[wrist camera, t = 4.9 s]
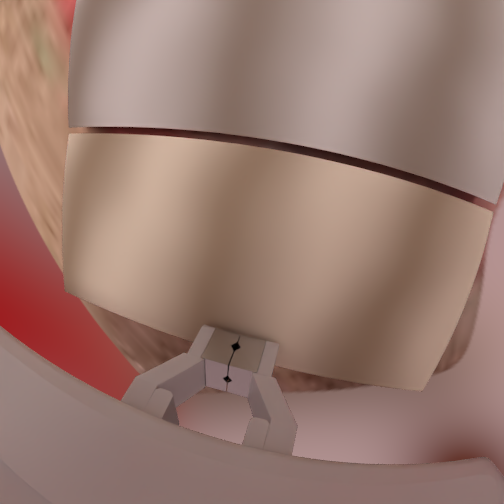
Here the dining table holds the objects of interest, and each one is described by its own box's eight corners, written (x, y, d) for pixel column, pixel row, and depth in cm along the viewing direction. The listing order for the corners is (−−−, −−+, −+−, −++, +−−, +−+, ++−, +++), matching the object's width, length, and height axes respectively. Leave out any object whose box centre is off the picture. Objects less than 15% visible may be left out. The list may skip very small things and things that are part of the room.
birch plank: (475, 207, 9) (493, 211, 8) (415, 372, 12) (422, 391, 10) (89, 135, 12) (69, 133, 11) (82, 282, 14) (64, 291, 13)
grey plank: (507, 19, 5) (525, 14, 3) (480, 191, 9) (496, 204, 8) (102, -21, 8) (81, -25, 6) (89, 121, 12) (68, 127, 11)
